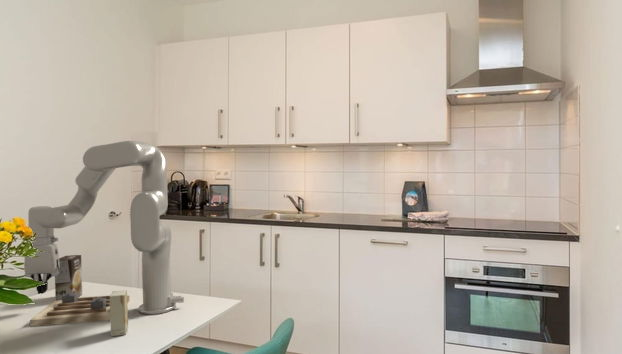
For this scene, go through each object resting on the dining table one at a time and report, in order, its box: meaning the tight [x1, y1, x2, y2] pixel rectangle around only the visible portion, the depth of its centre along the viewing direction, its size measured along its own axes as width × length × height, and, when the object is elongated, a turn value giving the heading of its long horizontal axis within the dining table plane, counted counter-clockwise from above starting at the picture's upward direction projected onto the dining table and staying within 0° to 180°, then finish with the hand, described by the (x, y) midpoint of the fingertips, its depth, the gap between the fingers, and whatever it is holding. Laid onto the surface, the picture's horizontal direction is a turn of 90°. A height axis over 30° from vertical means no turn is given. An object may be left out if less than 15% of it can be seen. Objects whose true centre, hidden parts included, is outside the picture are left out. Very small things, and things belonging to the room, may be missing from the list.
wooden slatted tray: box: [29, 295, 130, 327], centre depth 151 cm, size 26×20×3 cm
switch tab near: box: [90, 297, 106, 309], centre depth 148 cm, size 4×4×4 cm
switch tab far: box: [62, 291, 79, 303], centre depth 154 cm, size 4×4×4 cm
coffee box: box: [54, 254, 83, 301], centre depth 167 cm, size 9×6×16 cm
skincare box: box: [109, 289, 129, 337], centre depth 132 cm, size 6×4×12 cm
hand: (42, 292), depth 153 cm, fingers closed
